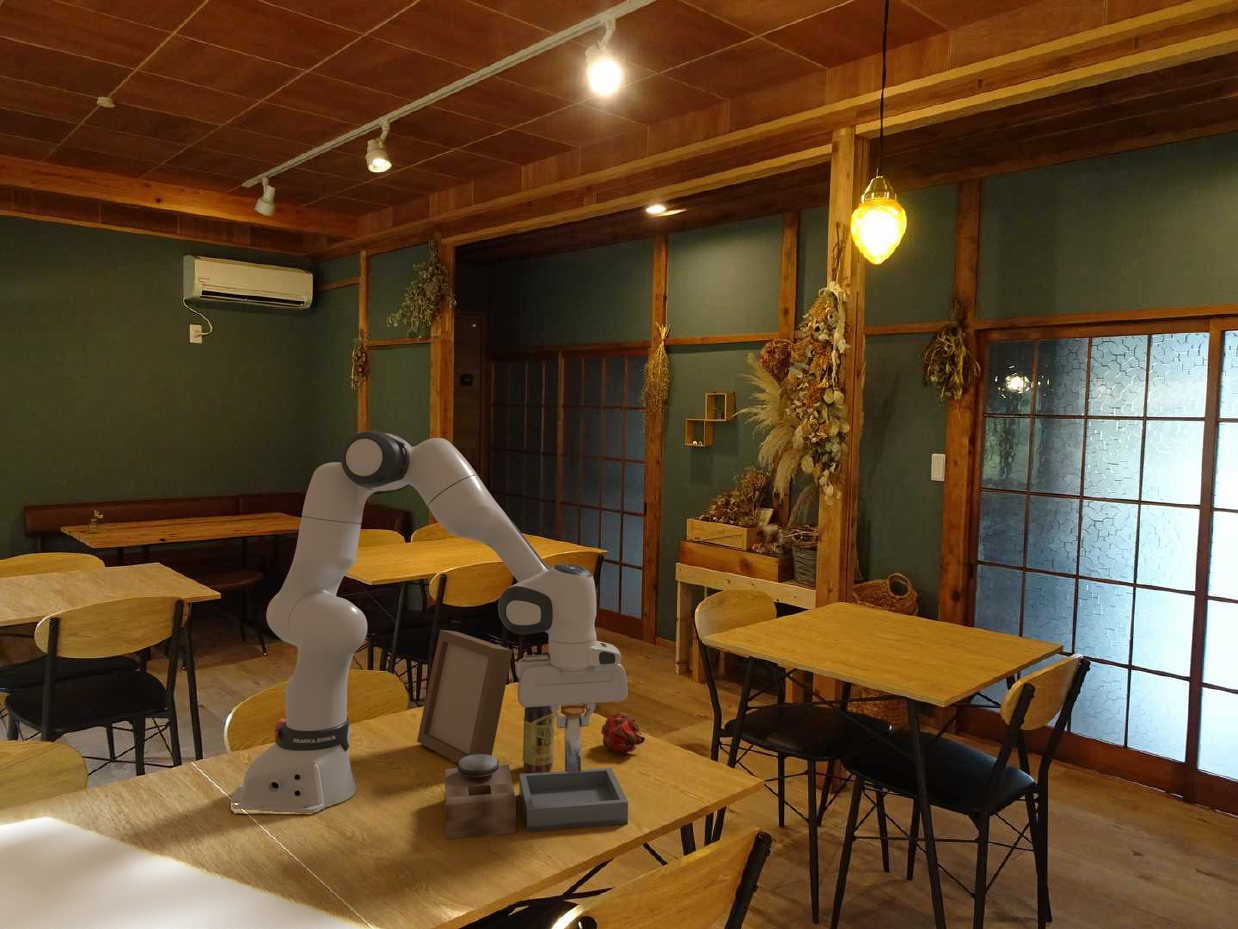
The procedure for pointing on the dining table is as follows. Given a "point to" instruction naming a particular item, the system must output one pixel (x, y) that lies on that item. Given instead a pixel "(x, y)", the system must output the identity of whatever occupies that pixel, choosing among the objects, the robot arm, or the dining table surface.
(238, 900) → the dining table surface
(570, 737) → the lock pin
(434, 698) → the photo frame
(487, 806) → the brown block with knob
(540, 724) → the sauce bottle
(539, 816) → the tray
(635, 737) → the dragon fruit
